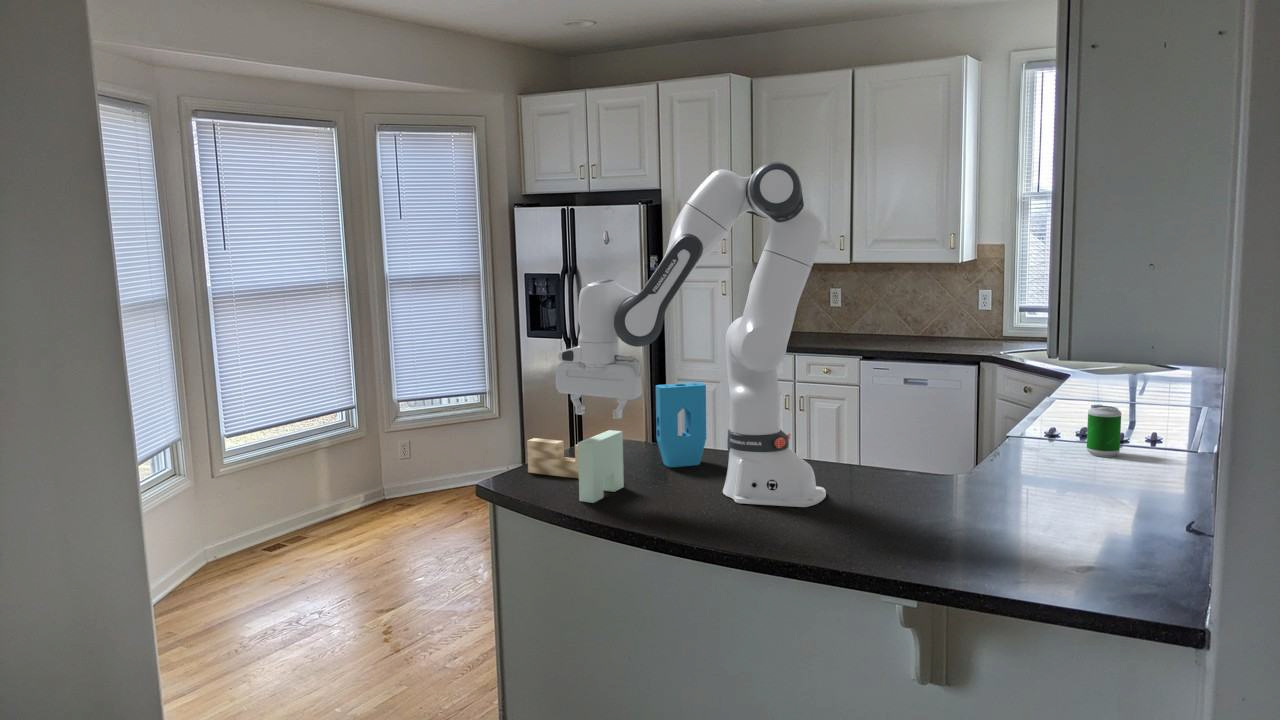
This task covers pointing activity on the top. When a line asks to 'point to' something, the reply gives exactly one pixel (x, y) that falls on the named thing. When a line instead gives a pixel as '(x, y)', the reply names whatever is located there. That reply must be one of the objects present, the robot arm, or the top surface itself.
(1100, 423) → the soda can
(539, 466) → the oak board
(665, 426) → the block
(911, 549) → the top surface
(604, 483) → the sage plate
